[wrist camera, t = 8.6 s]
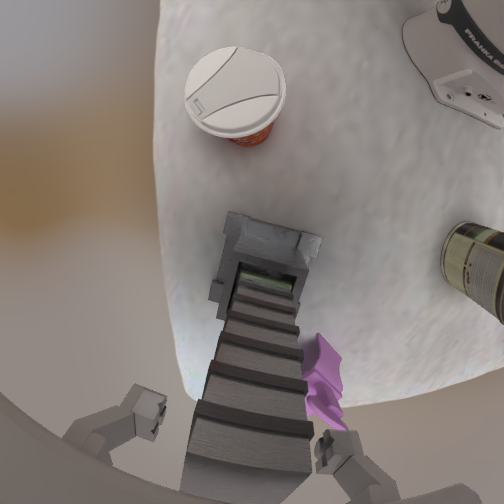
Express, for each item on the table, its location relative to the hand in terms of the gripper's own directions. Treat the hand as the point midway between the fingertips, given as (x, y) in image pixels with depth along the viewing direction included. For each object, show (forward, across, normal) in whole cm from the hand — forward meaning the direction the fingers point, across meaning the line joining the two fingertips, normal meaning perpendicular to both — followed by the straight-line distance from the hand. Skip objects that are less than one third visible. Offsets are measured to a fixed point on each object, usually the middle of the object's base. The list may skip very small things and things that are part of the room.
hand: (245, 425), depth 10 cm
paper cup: (+25, +6, -16) cm, 30 cm away
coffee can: (+25, -29, -9) cm, 39 cm away
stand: (+25, 0, 0) cm, 25 cm away
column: (+15, 0, 0) cm, 15 cm away
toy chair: (+25, -10, +13) cm, 30 cm away
